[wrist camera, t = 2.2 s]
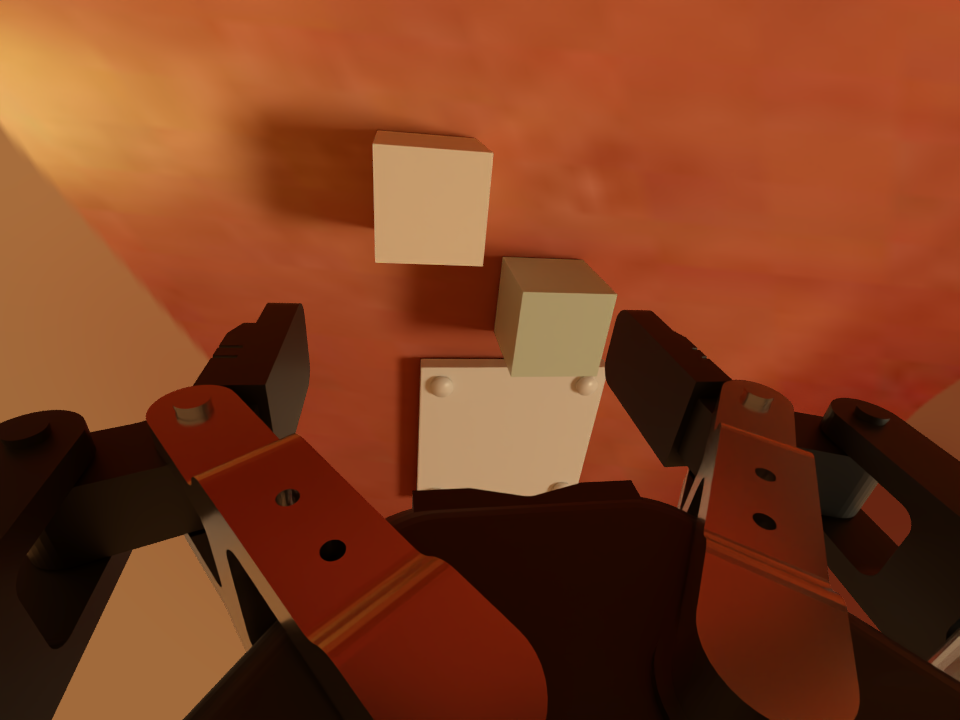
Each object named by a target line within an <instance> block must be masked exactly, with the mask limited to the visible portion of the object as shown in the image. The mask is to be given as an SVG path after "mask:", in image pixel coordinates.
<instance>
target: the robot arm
mask: <svg viewBox="0 0 960 720" xmlns="http://www.w3.org/2000/svg"><path fill="white" fill-rule="evenodd" d="M706 357H707V356H705V355H704V354H703V353H702V352H701V351H700V350H697V347H696V346H695V345H693V344H692V343H691V342H690V341H689V340H688V339H687V338H686V337H684V336H682V335H680V334H678V333H676V332H674V331H673V330H672V329H671V328H670V327H668V326H667V325H666V324H665V323H664V322H663V321H662V320H661V319H660V318H659V317H658V316H657V315H656V314H654V313H653V312H652V311H650V310H622V311H621V312H620V313H619V314H618V316H617V318H616V322H615V326H614V330H613V334H612V338H611V342H610V346H609V349H608V353H607V357H606V362H605V377H606V381H607V383H608V385H609V387H610V388H611V389H612V391H613V392H614V394H615V395H616V397H617V398H618V400H619V401H620V403H621V404H622V406H623V407H624V409H625V410H626V411H627V413H628V414H629V416H630V417H631V419H632V420H633V422H634V423H635V425H636V426H637V428H638V429H639V431H640V432H641V433H642V435H643V436H644V438H645V439H646V441H647V442H648V444H649V445H650V447H651V448H652V450H653V451H654V453H655V454H656V455H657V457H658V458H659V460H660V461H661V463H662V464H663V466H664V467H676V466H688V468H689V469H688V472H687V474H686V476H685V479H684V482H683V486H682V490H681V494H680V498H679V502H678V506H677V508H676V507H674V506H672V505H669V504H666V503H663V502H660V501H656V500H652V499H648V498H643V497H640V495H639V493H638V492H637V490H636V488H635V486H634V485H633V483H632V481H631V480H626V481H605V482H584V483H578V484H574V485H570V486H567V487H563V488H560V489H556V490H552V491H549V492H545V493H542V494H538V495H534V496H521V495H514V494H508V493H501V492H494V491H487V490H480V489H474V488H458V489H437V490H416V491H413V500H412V509H409V510H406V511H402V512H400V513H397V514H394V515H392V516H389V517H387V518H384V517H383V516H382V515H381V514H380V513H379V512H378V511H376V510H375V509H374V508H373V507H372V506H371V505H370V504H369V503H368V502H367V501H366V500H365V499H364V498H363V497H362V496H361V495H360V494H359V493H358V492H357V491H356V490H355V489H354V488H353V487H352V486H351V485H350V484H349V483H348V482H347V481H346V480H345V479H344V478H343V477H342V476H341V475H340V474H339V473H338V472H337V471H336V470H335V469H334V468H333V467H332V466H331V465H330V464H329V463H328V462H327V461H326V460H325V459H324V458H323V457H322V456H321V455H320V454H319V453H318V452H317V451H316V450H315V449H314V448H313V447H312V446H311V445H310V444H309V443H308V442H307V441H306V440H305V439H304V438H302V437H301V436H300V435H298V434H296V433H295V432H296V429H297V425H298V421H299V418H300V414H301V411H302V407H303V404H304V400H305V396H306V393H307V389H308V385H309V377H310V363H309V353H308V343H307V334H306V325H305V316H304V309H303V306H302V304H300V303H267V304H266V306H265V308H264V310H263V312H262V313H261V315H260V317H259V319H258V320H257V322H256V323H243V324H241V325H239V326H238V327H236V328H235V329H233V330H231V331H230V332H228V333H227V334H226V336H225V337H224V339H223V340H222V342H221V343H220V345H219V348H217V350H216V351H215V353H214V354H213V358H211V359H210V360H209V362H208V363H207V365H206V366H205V368H204V370H203V371H202V373H201V374H200V376H199V377H198V379H197V380H196V382H195V383H194V385H193V386H191V387H186V388H182V389H179V390H176V391H173V392H171V393H169V394H167V395H165V396H163V397H161V398H160V399H158V400H157V401H155V402H154V403H153V404H152V405H151V406H150V408H149V409H148V411H147V413H146V421H143V422H139V423H135V424H131V425H125V426H120V427H115V428H110V429H105V430H100V431H95V432H90V431H89V429H88V426H87V424H86V422H85V420H84V418H83V417H82V416H81V415H79V414H77V413H75V412H71V411H65V410H49V411H40V412H34V413H30V414H26V415H22V416H19V417H16V418H13V419H10V420H7V421H4V422H2V423H0V720H52V718H53V716H54V714H55V711H56V709H57V707H58V705H59V703H60V701H61V699H62V697H63V695H64V693H65V691H66V688H67V686H68V684H69V682H70V680H71V678H72V676H73V673H74V672H75V670H76V667H77V665H78V663H79V661H80V659H81V657H82V655H83V653H84V650H85V648H86V646H87V644H88V642H89V640H90V638H91V636H92V634H93V632H94V630H95V628H96V625H97V623H98V621H99V619H100V617H101V615H102V613H103V611H104V609H105V606H106V604H107V602H108V600H109V598H110V596H111V594H112V592H113V590H114V588H115V585H116V583H117V581H118V579H119V577H120V575H121V573H122V571H123V569H124V567H125V564H126V562H127V560H128V558H129V556H130V554H131V552H132V550H133V549H136V548H140V547H143V546H146V545H150V544H153V543H157V542H160V541H163V540H166V539H170V538H174V537H177V536H180V535H184V536H185V538H186V540H187V542H188V543H189V545H190V547H191V548H192V550H193V552H194V553H195V555H196V557H197V559H198V560H199V562H200V564H201V565H202V567H203V569H204V571H205V572H206V574H207V576H208V577H209V579H210V581H211V582H212V584H213V586H214V587H215V589H216V591H217V593H218V594H219V596H220V598H221V599H222V601H223V603H224V605H225V607H226V609H227V611H228V613H229V615H230V617H231V620H232V622H233V625H234V627H235V629H236V632H237V634H238V636H239V638H240V640H241V642H242V644H243V646H244V648H245V650H246V653H245V654H244V656H243V657H241V659H240V660H239V661H238V662H237V663H236V664H235V665H234V666H233V667H232V668H231V669H230V670H229V671H228V672H227V674H226V675H225V676H224V677H223V678H222V679H221V680H220V681H219V682H218V683H217V684H216V685H215V686H214V687H213V688H212V689H211V690H210V691H209V692H208V694H207V695H206V696H205V697H204V698H203V699H202V700H201V701H200V702H199V703H198V704H197V705H196V706H195V707H194V708H193V709H192V710H191V712H190V713H189V714H188V715H187V716H186V717H185V718H184V719H183V720H960V461H958V460H957V459H956V458H954V457H953V456H951V455H950V454H949V453H947V452H946V451H945V450H943V449H942V448H940V447H939V446H937V445H936V444H935V443H934V442H932V441H931V440H929V439H928V438H927V437H925V436H924V435H922V434H921V433H920V432H918V431H917V430H916V429H914V428H913V427H911V426H910V425H909V424H907V423H906V422H905V421H903V420H902V419H901V418H899V417H898V416H896V415H895V414H893V413H891V412H889V411H888V410H885V409H883V408H881V407H879V406H877V405H874V404H871V403H868V402H865V401H861V400H857V399H851V398H838V399H835V400H833V401H832V402H831V404H830V405H829V407H828V409H827V411H826V413H825V414H824V416H823V417H821V416H816V415H810V414H804V413H799V412H794V408H793V405H792V403H791V402H790V401H789V400H788V399H787V398H786V397H785V396H783V395H782V394H781V393H779V392H777V391H776V390H774V389H772V388H769V387H767V386H765V385H762V384H759V383H755V382H751V381H746V380H732V379H731V378H730V377H729V376H727V375H726V374H725V373H724V372H723V371H722V370H721V369H720V368H719V367H718V366H716V365H715V364H714V363H713V362H712V361H711V360H710V359H707V358H706ZM877 483H879V484H880V485H882V486H883V487H884V488H885V489H886V490H887V491H888V492H889V493H890V494H891V495H893V496H894V497H895V498H896V499H897V500H898V501H899V502H900V503H901V504H902V505H903V506H904V507H905V508H906V509H907V511H908V513H909V515H910V518H911V525H912V526H911V531H910V533H909V535H908V536H907V537H906V538H905V540H904V541H903V542H902V544H901V545H900V546H899V547H898V546H897V545H896V544H895V543H894V542H893V541H892V539H890V537H889V536H888V535H887V534H886V533H884V532H883V531H882V530H881V529H880V527H879V526H878V525H876V523H875V522H874V521H872V519H871V518H870V517H869V516H868V515H867V514H865V512H864V511H863V510H862V509H861V507H862V505H863V504H864V502H865V501H866V500H867V498H868V497H869V495H870V494H871V492H872V491H873V489H874V488H875V486H876V485H877ZM827 566H828V567H829V568H830V570H831V571H832V572H833V573H834V574H835V576H836V577H837V578H838V579H839V581H840V582H841V583H842V584H843V586H844V587H845V588H846V589H847V591H848V592H849V593H850V594H851V595H852V597H853V598H854V599H855V600H856V602H857V603H858V604H859V605H860V607H861V608H862V609H863V610H864V612H865V613H866V614H867V615H868V616H869V618H870V619H871V620H872V621H873V623H874V624H875V625H876V626H877V628H878V629H879V630H880V631H881V632H880V631H878V630H876V629H875V628H873V627H872V626H870V625H868V624H867V623H865V622H864V621H862V620H860V619H859V618H857V617H856V616H854V615H852V614H851V613H849V612H848V611H847V607H846V604H845V601H844V599H843V598H842V596H841V595H840V594H838V593H836V592H834V591H833V590H832V589H831V586H830V583H829V576H828V567H827Z"/></svg>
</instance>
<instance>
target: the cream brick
mask: <svg viewBox="0 0 960 720" xmlns="http://www.w3.org/2000/svg"><path fill="white" fill-rule="evenodd" d="M492 164H493V152H492V151H491V150H489V149H488V148H487V147H486V146H485V145H483V144H482V143H481V142H480V141H479V140H477V139H476V138H467V137H454V136H442V135H430V134H417V133H405V132H393V131H380V130H377V132H376V135H375V138H374V141H373V186H374V230H375V263H403V264H431V265H460V266H483V259H484V248H485V238H486V227H487V217H488V206H489V196H490V185H491V174H492Z"/></svg>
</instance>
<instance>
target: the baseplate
mask: <svg viewBox="0 0 960 720" xmlns="http://www.w3.org/2000/svg"><path fill="white" fill-rule="evenodd" d="M605 379H606V377H605V362H604V360H603V359H601V362H600V366H599V370H598V374H597V376H576V377H511V376H510V373H509V370H508V368H507V365H506V362H505V360H504V359H421V364H420V397H419V429H418V461H417V490H437V489H458V488H474V489H480V490H487V491H494V492H501V493H508V494H514V495H521V496H534V495H538V494H542V493H545V492H549V491H552V490H556V489H560V488H563V487H567V486H570V485H574V484H578V482H579V478H580V474H581V470H582V466H583V463H584V459H585V455H586V451H587V447H588V444H589V440H590V436H591V432H592V428H593V425H594V421H595V417H596V413H597V409H598V406H599V402H600V398H601V394H602V390H603V387H604V383H605Z"/></svg>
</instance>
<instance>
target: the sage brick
mask: <svg viewBox="0 0 960 720" xmlns="http://www.w3.org/2000/svg"><path fill="white" fill-rule="evenodd" d="M616 298H617V294H616V293H615V292H614V291H613V290H612V289H611V288H610V287H609V286H608V285H607V284H606V283H605V282H604V281H603V280H602V279H601V278H600V277H599V276H598V275H597V274H596V273H595V272H594V271H593V270H592V269H591V268H590V267H589V266H588V265H587V264H586V263H585V262H584V261H583V260H573V259H547V258H522V257H503V259H502V267H501V276H500V285H499V293H498V302H497V311H496V319H495V328H494V333H495V336H496V339H497V341H498V344H499V347H500V349H501V352H502V355H503V357H504V360H505V362H506V365H507V368H508V370H509V373H510V376H511V377H576V376H597V374H598V370H599V366H600V362H601V358H602V354H603V350H604V346H605V342H606V338H607V334H608V330H609V326H610V322H611V318H612V314H613V310H614V306H615V302H616Z"/></svg>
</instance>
